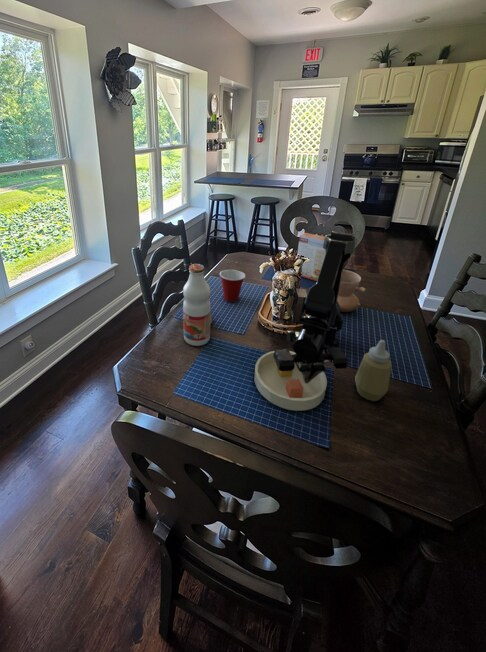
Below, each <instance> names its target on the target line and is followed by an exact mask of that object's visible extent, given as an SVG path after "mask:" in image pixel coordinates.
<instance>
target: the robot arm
mask: <svg viewBox="0 0 486 652" xmlns="http://www.w3.org/2000/svg"><path fill="white" fill-rule="evenodd" d="M324 237H325V239H324V244H323V248H324V249H325V252H326V254H325V257H324V261H323V264H322V267H321V270H320V273H319V277H318V280H317V281H316V282H315V284H313V285H312V286H311V287H309V289H308V292H307V294H306V295H304V297H303V299H302V303H301V306H300V310H299V313H298V317H297V320H296V323H297V324H300V325H302V328H301V329H300V330H299V331H294V330H287V331H286V342H288V343H289V344H293V345H292V349H293V352H295V353H296V354H290V352H289V351H290V350H289V349H276V350H274V351H275V352H274V360H275V362H276V364H277V366H278V369H279V370H280V371H292V370H293V369H294V367H295V364H296V366H297V368H298V370H299V371H300V372H302V376H303V379H304V382H305V383H309V382H310V381H311V380H312V379H313V378H315V377H316V376H317V375H318V374H320V373H321V372H326V370H327V368H326V367H325V363H333V367H334V368H335V369H336V370H342V369H347V367H348V363H349V362H348V358H347V357H346V355H345V354H344V353H343V351H342V350H341V348H339V347H338V346H337V345H338V343H337V341H336V335H337V333H338V332H339V331H341V330H343V324H344V319H343V316H342V314H341V312H340V311H341V307H340V305H339V303H338V302H337V299H338V294H339V288H340V283H341V278H342V273H343V270H344V267H345V264H346V262H347V261H348V260H349V259H350V258H351V256H352V254H354V253H355V251H356V247H357V243H358V238H356V237H355V235H354V234H352V233H346V232H339V231H331V232H330V234H328V233H327V234H325V236H324ZM304 313H305V315H306V316H304ZM329 345H330V346H337V347H327V346H329ZM294 362H295V364H294Z"/></svg>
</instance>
